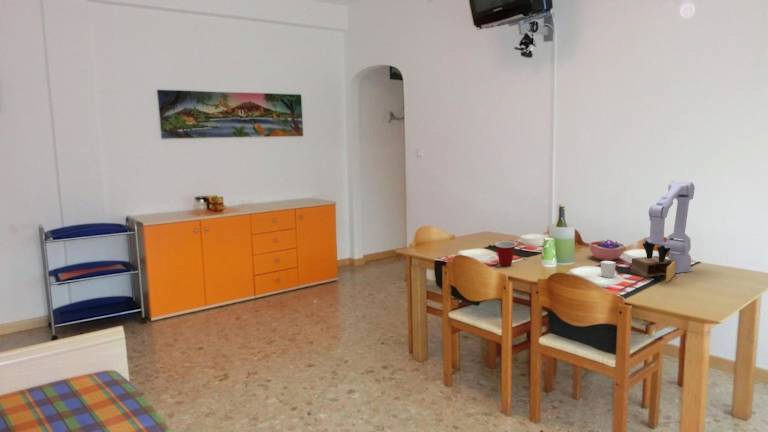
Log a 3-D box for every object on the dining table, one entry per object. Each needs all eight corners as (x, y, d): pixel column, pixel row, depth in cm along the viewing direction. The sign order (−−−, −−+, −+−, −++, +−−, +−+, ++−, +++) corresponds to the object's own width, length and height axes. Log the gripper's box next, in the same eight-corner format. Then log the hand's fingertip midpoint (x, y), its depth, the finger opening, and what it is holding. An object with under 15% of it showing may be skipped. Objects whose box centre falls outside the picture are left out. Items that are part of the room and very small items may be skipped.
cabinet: (655, 269, 268) (656, 255, 267) (670, 274, 258) (671, 260, 257) (631, 272, 264) (632, 258, 263) (645, 277, 255) (646, 263, 254)
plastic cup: (492, 267, 281) (492, 244, 279) (498, 262, 291) (498, 240, 289) (513, 269, 276) (513, 246, 274) (518, 264, 286) (518, 242, 284)
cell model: (616, 255, 300) (616, 235, 298) (628, 264, 280) (629, 242, 278) (584, 255, 301) (585, 235, 299) (595, 264, 282) (595, 243, 280)
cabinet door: (672, 274, 258) (673, 260, 257) (675, 274, 257) (676, 261, 256) (665, 281, 247) (666, 267, 246) (668, 281, 246) (668, 267, 245)
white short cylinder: (606, 278, 255) (606, 264, 254) (596, 275, 261) (597, 261, 260) (618, 277, 257) (619, 263, 255) (608, 273, 263) (609, 259, 262)
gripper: (638, 229, 252) (637, 257, 254) (661, 234, 238) (659, 264, 241) (651, 228, 254) (649, 256, 256) (674, 233, 240) (672, 263, 242)
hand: (655, 260), depth 248 cm, fingers open, 7 cm apart
